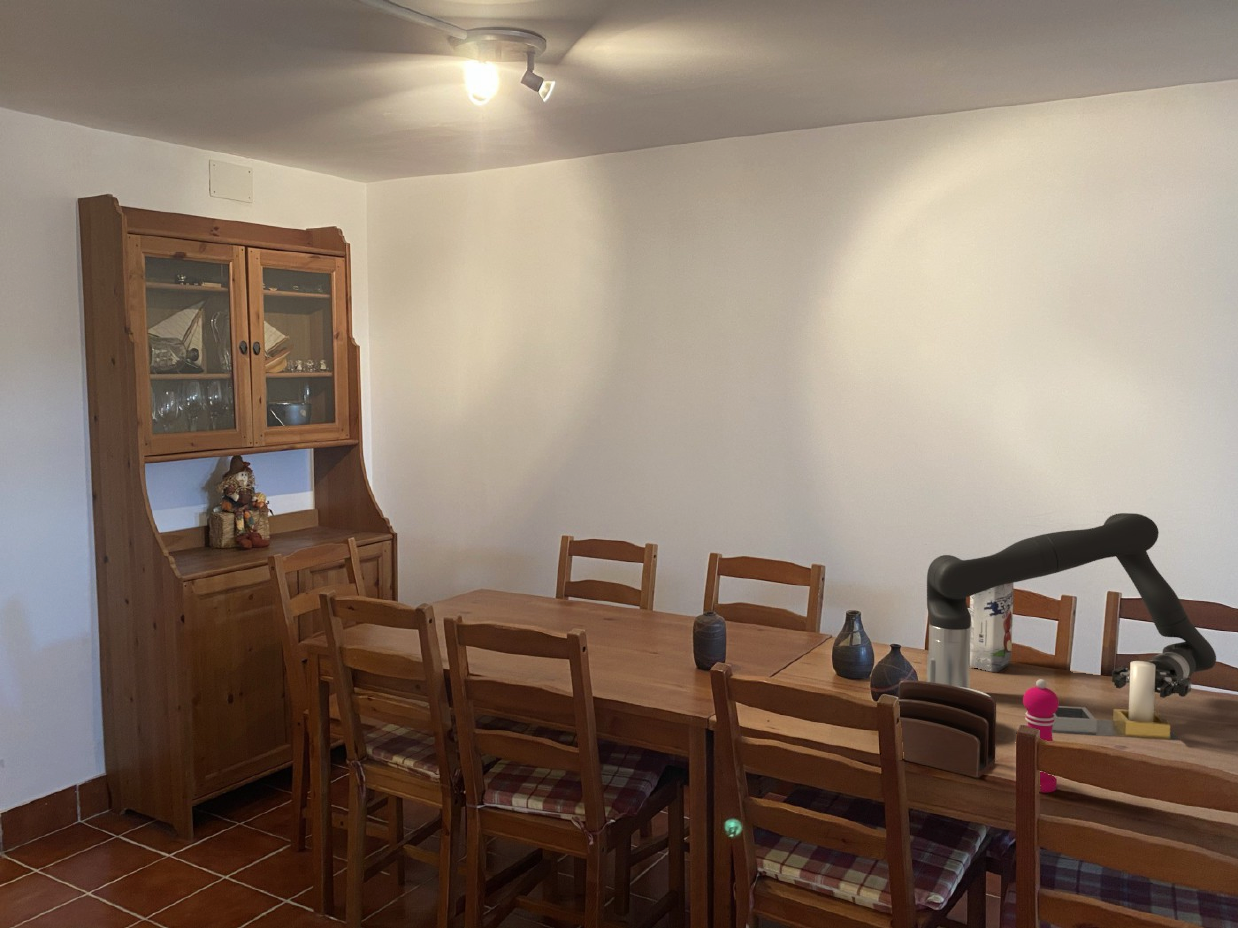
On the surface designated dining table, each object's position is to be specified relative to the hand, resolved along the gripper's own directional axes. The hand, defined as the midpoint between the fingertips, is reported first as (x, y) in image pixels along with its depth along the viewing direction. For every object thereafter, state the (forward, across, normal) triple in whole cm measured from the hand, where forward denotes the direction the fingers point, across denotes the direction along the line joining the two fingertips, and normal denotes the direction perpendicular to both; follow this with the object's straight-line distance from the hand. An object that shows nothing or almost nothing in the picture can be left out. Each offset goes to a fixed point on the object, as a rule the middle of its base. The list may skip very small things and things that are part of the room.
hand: (1139, 688), depth 203 cm
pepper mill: (+39, -4, +11) cm, 41 cm away
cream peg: (-2, 0, +9) cm, 9 cm away
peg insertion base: (+2, -6, +10) cm, 12 cm away
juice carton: (-27, -44, +11) cm, 53 cm away
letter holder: (+40, -24, +11) cm, 48 cm away
